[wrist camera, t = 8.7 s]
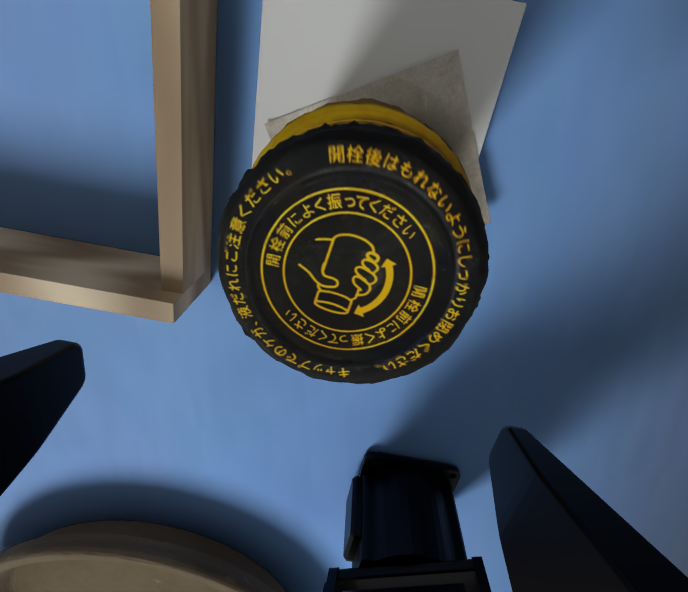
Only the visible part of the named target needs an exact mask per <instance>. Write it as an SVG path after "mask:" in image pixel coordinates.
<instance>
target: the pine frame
mask: <svg viewBox="0 0 688 592" xmlns="http://www.w3.org/2000/svg"><path fill="white" fill-rule="evenodd" d="M150 8H151V34H152V60H153V86H154V112H155V138H156V165H157V191H158V217H159V243H160V256H156V255H150V254H145V253H139V252H134V251H129V250H123V249H118V248H112V247H107V246H101V245H96V244H91V243H85V242H80V241H74V240H69V239H63V238H58V237H53V236H47V235H42V234H36V233H31V232H26V231H20V230H15V229H9V228H4V227H0V292H3V293H8V294H14V295H19V296H25V297H30V298H36V299H41V300H47V301H53V302H58V303H64V304H69V305H75V306H80V307H86V308H91V309H97V310H102V311H108V312H113V313H119V314H125V315H130V316H136V317H141V318H147V319H152V320H158V321H163V322H169V323H174V322H175V321H176V320H177V319H178V318H179V317H180V316H181V315H182V313H183V312H184V311H185V310H186V309H187V308H188V307H189V306H190V305H191V303H192V302H193V301H194V300H195V299H196V298H197V297H198V296H199V295H200V294H201V292H202V291H203V290H204V289H205V288H206V287H207V286H208V285H209V284H210V282H211V243H212V202H213V160H214V119H215V78H216V37H217V0H150Z"/></svg>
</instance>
